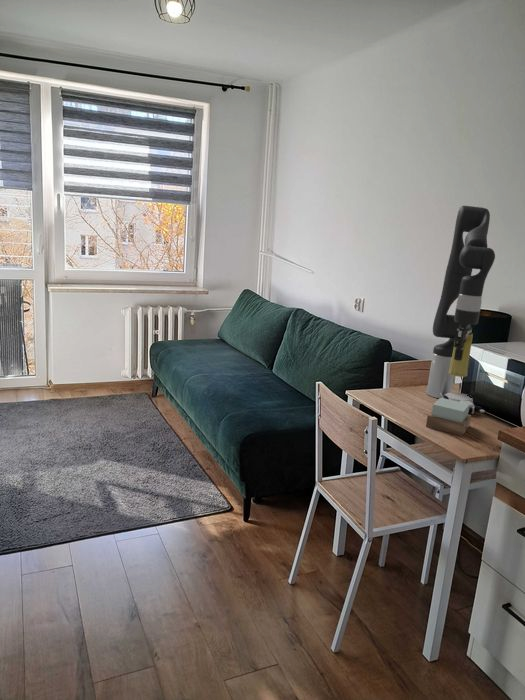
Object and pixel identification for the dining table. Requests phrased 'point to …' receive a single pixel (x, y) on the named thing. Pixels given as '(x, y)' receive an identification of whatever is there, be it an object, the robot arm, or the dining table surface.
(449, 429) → the bottom brick
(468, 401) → the robot toy
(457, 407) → the top brick
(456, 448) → the dining table surface
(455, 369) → the vase
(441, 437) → the dining table surface
